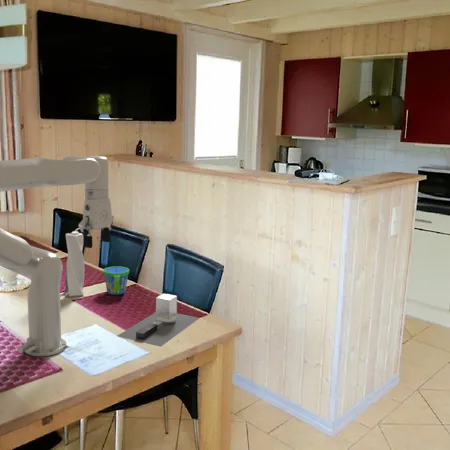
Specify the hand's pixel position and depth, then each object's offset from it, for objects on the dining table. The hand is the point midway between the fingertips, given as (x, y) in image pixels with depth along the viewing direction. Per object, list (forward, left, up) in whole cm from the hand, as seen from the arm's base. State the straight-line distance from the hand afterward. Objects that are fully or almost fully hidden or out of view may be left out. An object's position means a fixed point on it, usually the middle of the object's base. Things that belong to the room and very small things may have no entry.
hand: (97, 244), depth 173 cm
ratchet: (+9, -18, -30) cm, 36 cm away
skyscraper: (+25, +30, -31) cm, 50 cm away
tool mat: (+11, -18, -30) cm, 37 cm away
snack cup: (+35, +17, -31) cm, 49 cm away
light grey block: (+16, -18, -27) cm, 36 cm away
